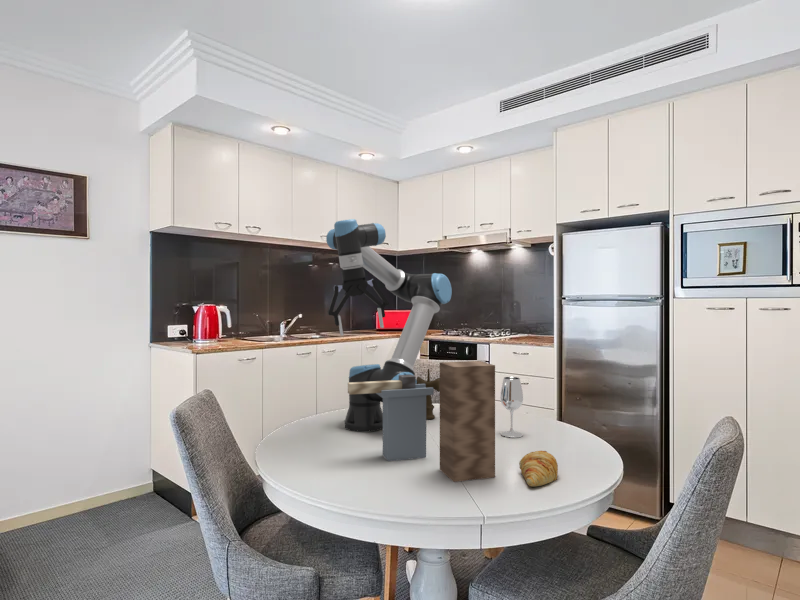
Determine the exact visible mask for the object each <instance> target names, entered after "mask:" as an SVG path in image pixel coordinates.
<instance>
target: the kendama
mask: <svg viewBox="0 0 800 600" xmlns="http://www.w3.org/2000/svg"><path fill="white" fill-rule="evenodd" d="M430 371H431V370H430V368H427V380H425V379H423V378H422V377H420V376H417V377H416V381H417V383H416V384H426V388H434V391H436V392H439V393H440V377H437V378H435V379H434V380H431V378H430V377H431V376H430ZM434 409H435V405H434V404H433V400H432V395H426V420H433V419H435V418H436V416H435V414H434Z"/></svg>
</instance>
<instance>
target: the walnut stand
mask: <svg viewBox="0 0 800 600" xmlns="http://www.w3.org/2000/svg"><path fill="white" fill-rule="evenodd" d="M439 378H440V392H439V470H440V471H441V472H442V473H443V474H444V475H445V476H447V478H449V479H450V480H451V482H454V483H458V482H465V481H474V480H484V479H491V478H495V477H496V365H495V364H492V363H489V362H488V363H487V362H485V361H479V360H469V361H468V360H467V361H443V362H442V361H441V362H439Z"/></svg>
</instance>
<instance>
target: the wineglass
mask: <svg viewBox="0 0 800 600" xmlns="http://www.w3.org/2000/svg"><path fill="white" fill-rule="evenodd" d="M501 384H502V385H501V389H500V403H501V405H502V406H503V408H504V409H506V410H508V411H509V413H510V414H509V415H510V429H509V430H508V431H507V430H506V431H502V432H500V435H501V436H502V437H504V436H505V438H509V437H510V438H512V439H516V438H521V437H523V433H522V432H519V431H515V430H514V427H513V425H514V423H513V422H514V421H513V420H514V412H515V411H517V410H519V409H520V408H521V406H522V404H523V402H524V393H523V389H522V381H521V378H519V377H517V376H505V377H503V379H502V383H501Z"/></svg>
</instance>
